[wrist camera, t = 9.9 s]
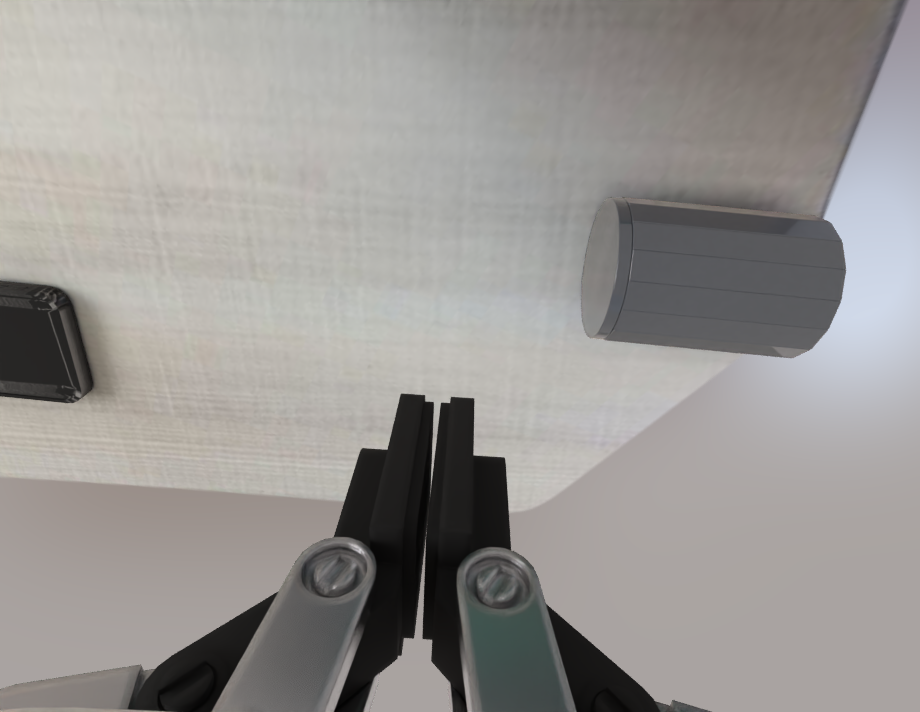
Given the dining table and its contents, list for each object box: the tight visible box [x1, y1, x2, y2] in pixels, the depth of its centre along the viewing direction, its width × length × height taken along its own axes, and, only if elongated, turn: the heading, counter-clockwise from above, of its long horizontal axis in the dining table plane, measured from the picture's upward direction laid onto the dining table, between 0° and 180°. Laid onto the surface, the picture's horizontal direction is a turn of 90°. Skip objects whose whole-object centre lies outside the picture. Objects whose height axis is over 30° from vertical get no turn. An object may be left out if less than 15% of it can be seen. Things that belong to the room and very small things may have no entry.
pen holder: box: [581, 197, 846, 358], centre depth 27 cm, size 7×7×10 cm
